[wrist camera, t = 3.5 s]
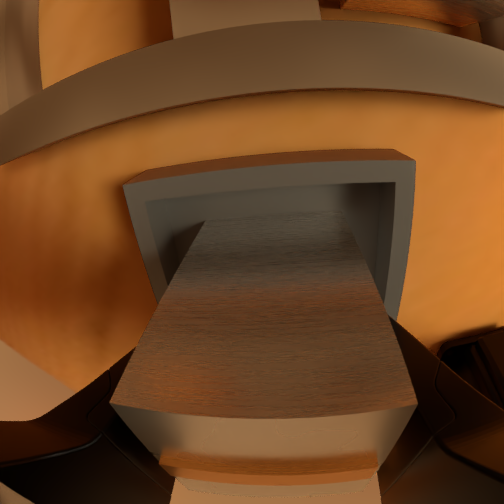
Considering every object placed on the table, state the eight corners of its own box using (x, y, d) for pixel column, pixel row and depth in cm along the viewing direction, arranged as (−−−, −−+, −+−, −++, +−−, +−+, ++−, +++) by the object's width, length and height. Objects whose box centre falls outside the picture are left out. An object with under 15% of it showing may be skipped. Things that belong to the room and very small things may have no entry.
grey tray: (375, 339, 12) (383, 369, 11) (195, 347, 13) (186, 376, 12) (393, 149, 9) (415, 160, 7) (146, 170, 10) (122, 184, 8)
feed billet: (341, 210, 9) (421, 415, 3) (338, 317, 11) (363, 498, 5) (205, 220, 10) (104, 412, 4) (227, 322, 12) (186, 496, 6)
